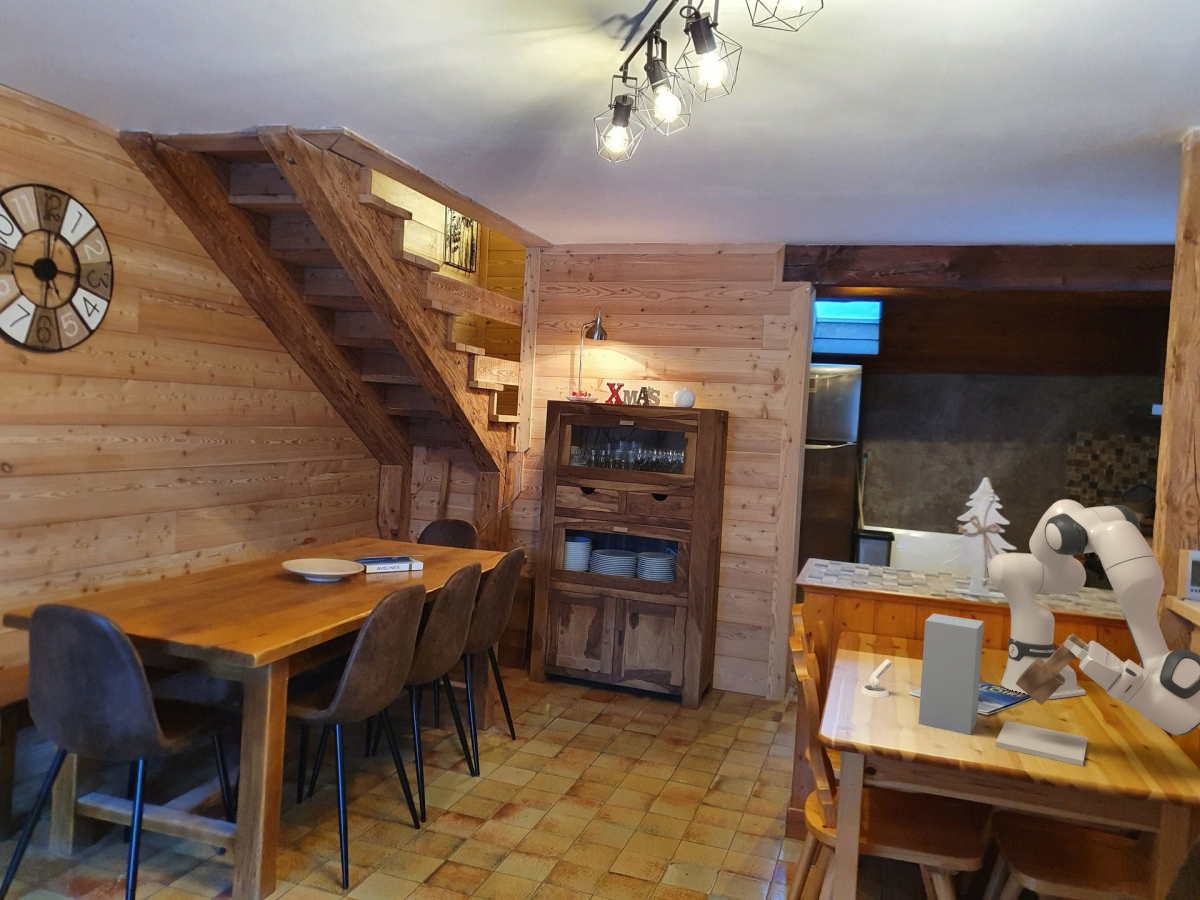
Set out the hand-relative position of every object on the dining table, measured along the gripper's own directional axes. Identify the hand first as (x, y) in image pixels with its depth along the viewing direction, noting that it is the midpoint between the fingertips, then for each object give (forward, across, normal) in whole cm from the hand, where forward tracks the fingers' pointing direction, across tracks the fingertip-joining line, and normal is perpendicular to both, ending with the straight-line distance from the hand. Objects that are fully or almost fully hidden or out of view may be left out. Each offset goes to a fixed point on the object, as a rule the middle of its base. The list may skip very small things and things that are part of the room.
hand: (1066, 639), depth 205 cm
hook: (+27, -13, +45) cm, 54 cm away
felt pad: (-10, 0, +24) cm, 26 cm away
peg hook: (-5, 0, +7) cm, 8 cm away
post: (+9, 0, +34) cm, 36 cm away
